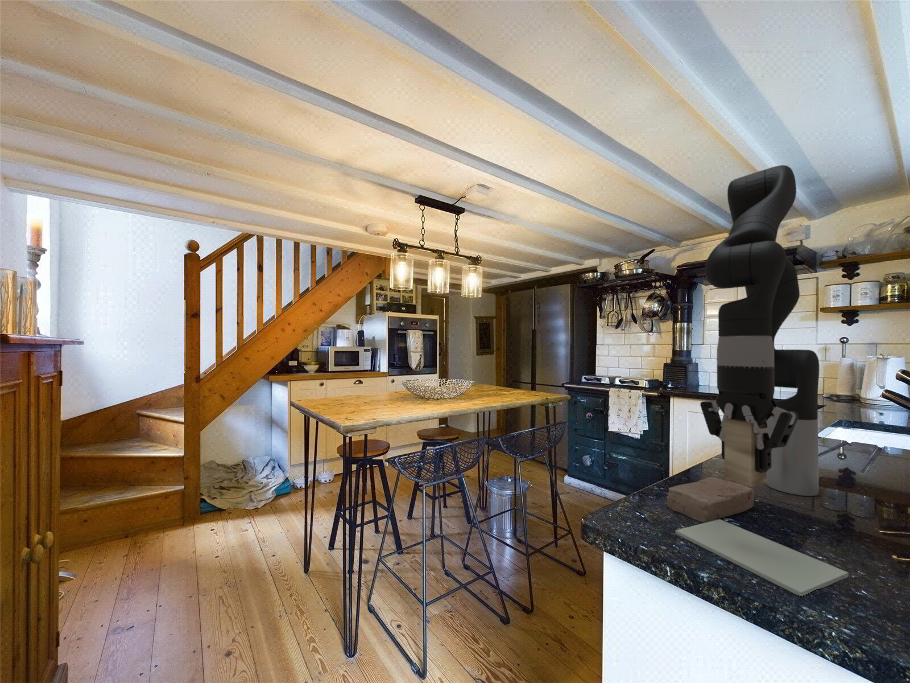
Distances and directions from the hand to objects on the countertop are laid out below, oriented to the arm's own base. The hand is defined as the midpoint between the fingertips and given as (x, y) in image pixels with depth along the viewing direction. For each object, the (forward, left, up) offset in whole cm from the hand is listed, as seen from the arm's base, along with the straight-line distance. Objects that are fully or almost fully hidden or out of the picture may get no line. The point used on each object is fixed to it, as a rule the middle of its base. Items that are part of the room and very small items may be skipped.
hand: (745, 466), depth 61 cm
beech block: (0, 0, -2) cm, 2 cm away
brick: (-11, -13, -14) cm, 22 cm away
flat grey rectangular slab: (0, +1, -14) cm, 14 cm away
